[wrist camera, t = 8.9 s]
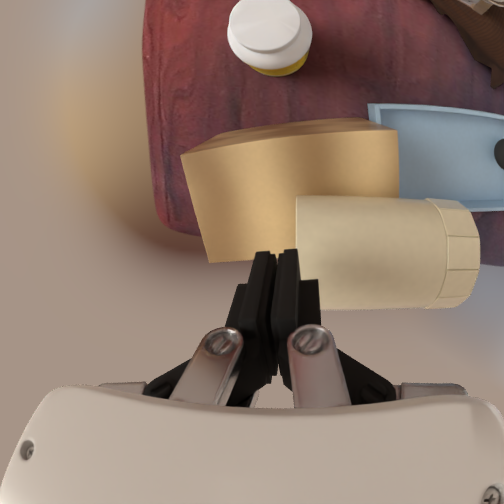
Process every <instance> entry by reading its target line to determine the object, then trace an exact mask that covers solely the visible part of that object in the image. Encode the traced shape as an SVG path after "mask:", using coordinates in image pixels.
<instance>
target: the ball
mask: <svg viewBox="0 0 504 504" xmlns="http://www.w3.org/2000/svg"><path fill="white" fill-rule="evenodd" d="M494 157H495V160H496V162H497V164H498V165H499V166H500V167H501V168H502V169H503V170H504V139H501V140H499V141H498V142H497V143H496V145H495V148H494Z"/></svg>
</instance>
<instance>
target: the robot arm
mask: <svg viewBox="0 0 504 504" xmlns="http://www.w3.org/2000/svg"><path fill="white" fill-rule="evenodd" d="M278 364H279V369H280V375H281V376H282V378H283V383H284V385H285V386H286V387H287V388H288V389H290V390H291V391H292V392H293V400H294V409H272V408H271V409H270V408H255V405H256V402H257V399H258V397H259V389H260V388H262V387H263V386H264V385H266V384H271V380H272V376H276V375H277V371H278ZM0 504H504V418H503V416H502V415H501V413H500V412H499V410H498V409H497V408H496V407H495V406H494V405H493V404H492V403H489V402H488V401H486V400H483V399H480V398H476V397H471V396H468V393H467V391H466V390H465V389H464V388H463V387H462V386H460V385H458V384H452V383H451V384H450V383H449V384H433V383H430V384H429V383H402V384H401V385H392V384H391V383H390V382H389V381H388V380H386V379H385V378H383V377H381V376H380V375H378V374H377V373H375V372H374V371H372V370H370V369H369V368H367V367H365V366H364V365H362V364H361V363H359V362H358V361H356V360H354V359H353V358H351V357H350V356H348V355H347V354H345V353H343V352H342V351H340V350H339V349H337V348H336V345H335V341H334V338H333V335H332V333H331V332H330V331H329V330H328V329H327V328H325V327H323V326H321V313H320V297H319V282H318V279H310V280H301V275H300V265H299V256H298V249H297V248H295V249H284V253H279V256H278V264H277V260H276V255H275V254H271V253H270V251H258V252H256V253H255V257H254V261H253V265H252V269H251V273H250V276H249V280H248V284H238V286H237V289H236V292H235V295H234V298H233V302H232V305H231V308H230V311H229V315H228V318H227V321H226V325H225V327H222V328H217V329H215V330H212V331H210V332H209V333H208V334H207V335H205V337H204V338H203V339H202V341H201V343H200V344H199V346H198V348H197V350H196V351H195V353H194V355H193V357H192V358H191V359H189V360H188V361H186V362H184V363H182V364H181V365H179V366H177V367H175V368H174V369H172V370H170V371H168V372H167V373H165V374H163V375H161V376H159V377H158V378H156V379H154V380H153V381H151V382H150V383H149V384H147V383H146V382H128V383H104V384H101V385H99V386H91V385H70V386H63V387H59V388H56V389H54V390H52V391H51V392H49V393H48V394H47V395H46V397H45V398H44V399H43V400H42V402H41V403H40V404H39V406H38V407H37V409H36V410H35V412H34V414H33V415H32V417H31V419H30V421H29V422H28V424H27V426H26V428H25V430H24V432H23V434H22V436H21V438H20V440H19V442H18V444H17V446H16V449H15V451H14V453H13V456H12V458H11V460H10V463H9V465H8V468H7V470H6V473H5V475H4V478H3V481H2V484H1V487H0Z"/></svg>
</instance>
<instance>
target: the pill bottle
mask: <svg viewBox="0 0 504 504" xmlns="http://www.w3.org/2000/svg"><path fill="white" fill-rule="evenodd" d="M227 34H228V41H229V44H230V46H231V48H232V50H233V52H234V53H235V54H236V55H237V56H238V57H239V58H240V59H241V60H242V61H243V62H245V63H246V64H248V65H249V66H250V67H252V68H253V69H255V70H256V71H258V72H259V73H261V74H264V75H267V76H272V77H282V76H287V75H290V74H292V73H294V72H296V71H297V70H299V69H300V68H301V67H302V66H303V64H304V63H305V61H306V59H307V56H308V52H309V48H310V45H311V41H312V28H311V24H310V22H309V20H308V18H307V16H306V15H305V14H304V12H303V11H302V10H301V9H300V8H298V7H297V6H295V5H294V4H293V3H292V2H291V1H289V0H241V1H240V2H238V3H237V4H236V6H235V7H234V8H233V10H232V12H231V14H230V18H229V26H228V33H227Z"/></svg>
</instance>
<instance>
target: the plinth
mask: <svg viewBox="0 0 504 504" xmlns="http://www.w3.org/2000/svg"><path fill="white" fill-rule="evenodd" d="M181 160H182V164H183V168H184V172H185V176H186V180H187V184H188V187H189V191H190V195H191V199H192V202H193V206H194V210H195V213H196V217H197V221H198V224H199V228H200V231H201V235H202V238H203V242H204V245H205V249H206V252H207V255H208V259H209V262H210V263H215V262H229V261H242V260H254V257H255V253H256V252H258V251H270V253H271V254H275V255H276V258H278V256H279V253H284V249H295V248H296V195H345V196H374V197H395V198H399V148H398V131H397V130H395V129H392V128H389V127H387V126H384V125H381V124H378V123H375V122H372V121H369V120H366V119H363V118H360V117H353V118H334V119H321V120H309V121H299V122H290V123H282V124H274V125H267V126H260V127H254V128H247V129H241V130H236V131H230V132H225V133H221V134H219V135H217V136H215V137H213V138H211V139H209V140H207V141H206V142H204V143H202V144H200V145H198V146H196V147H194V148H193V149H191V150H189V151H187V152H185V153H183V154H182V155H181Z"/></svg>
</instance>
